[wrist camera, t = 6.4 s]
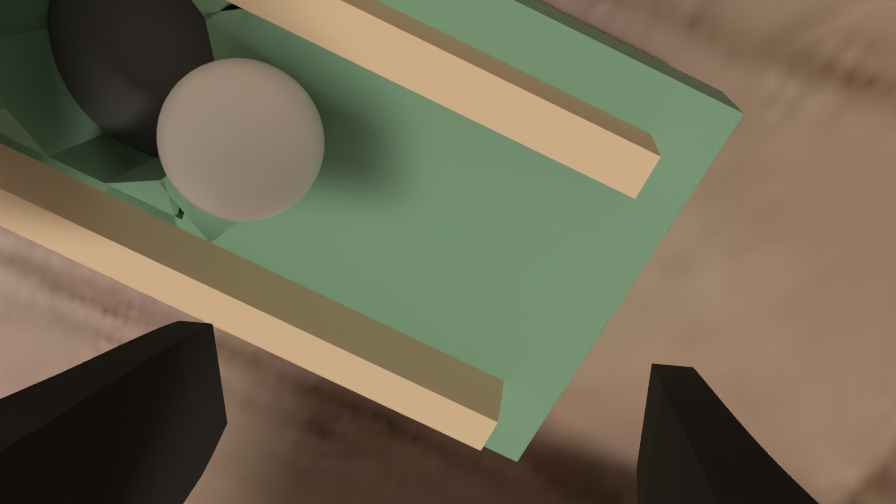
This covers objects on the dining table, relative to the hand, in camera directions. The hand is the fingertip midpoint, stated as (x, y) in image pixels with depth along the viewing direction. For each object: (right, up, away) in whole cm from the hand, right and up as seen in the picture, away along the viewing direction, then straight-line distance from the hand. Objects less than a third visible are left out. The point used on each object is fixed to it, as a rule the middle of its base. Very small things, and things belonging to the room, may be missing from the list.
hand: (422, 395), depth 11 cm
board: (-4, +6, +8) cm, 11 cm away
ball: (-4, +5, +4) cm, 7 cm away
